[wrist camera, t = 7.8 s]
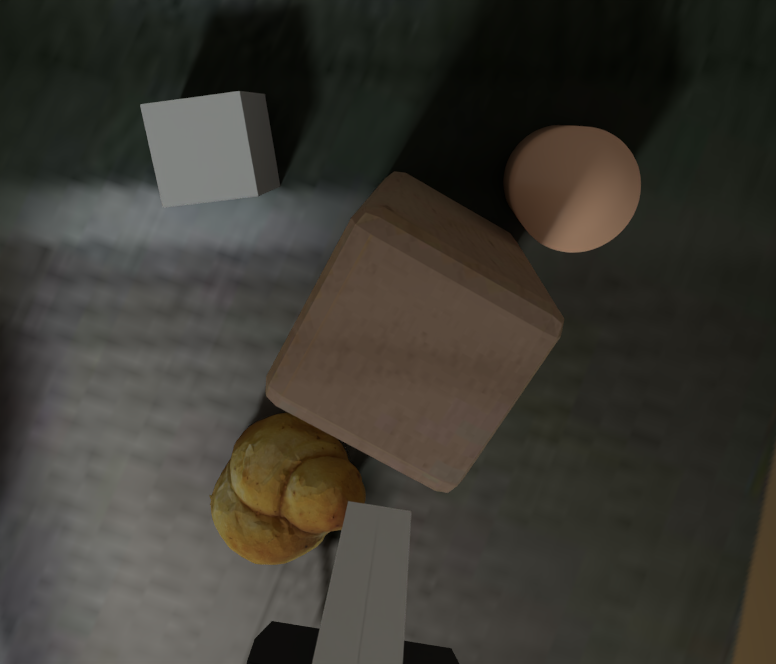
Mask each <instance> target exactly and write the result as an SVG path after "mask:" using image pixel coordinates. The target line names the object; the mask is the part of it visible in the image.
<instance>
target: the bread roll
mask: <svg viewBox="0 0 776 664" xmlns="http://www.w3.org/2000/svg"><path fill="white" fill-rule="evenodd" d="M210 498H211V504H210V505H211V513H212V518H213V521H214V524H215V526H216V528H217V530H218V532H219V534H220V535H221V537H222V538H223V539H224V541H225V542H226V544H227V545H228V546H229V548H230V549H232V550H233V551H235V552H236V553H237V554H239V555H240V556H241V557H243V558H245V559H247V560H249V561H251V562H253V563H255V564H270V565H276V564H283V563H287V562H290V561H292V560H294V559H296V558H298V557H300V556H302V555H304V554H306V553H307V552H309V551H311V550H312V549H314V548H315V547H317V546H318V545H319V544H320V543H321V542H322V541H323V539H324V537H325V535H326V534H328V533H329V532H330V531H335V530H341V529H342V527H343V522H344V518H345V513H346V509H347V504H348V501H350V502H357V503H363V504H365V489H364V485H363V483H362V478H361V475H360V473H359V471H358V470H357V468H356V467H355V466H354V465H353V464H352V463H350V462H349V460H348V455H347V453H346V451H345V449H344V447H343V445H342V444H341V443H340V442H339V440H338V439H337V438H335V437H333V436H331V435H330V434H328V433H326V432H324V431H322V430H320V429H318V428H316V427H315V426H313V425H311V424H309V423H307V422H305V421H303V420H301V419H299V418H298V417H296V416H294V415H292V414H290V413H280V414H276V415H273V416H270V417H267V418H265V419H262V420H260V421H257V422H255V423H254V424H252V425H251V426H250V427H248V428H247V429H246V430H245V431H244V432H243V434H242V435H241V436H240V437H239V439H238V440H237V441H236V443H235V445H234V449H233V452H232V456H231V459H230V460H229V462H228V463H227V465H226V467H225V468H224V470H223V471H222V473H221V475H220V477H219V479H218V481H217V483H216V485H215V488H214V491H213V493H212V496H211V495H210Z"/></svg>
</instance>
